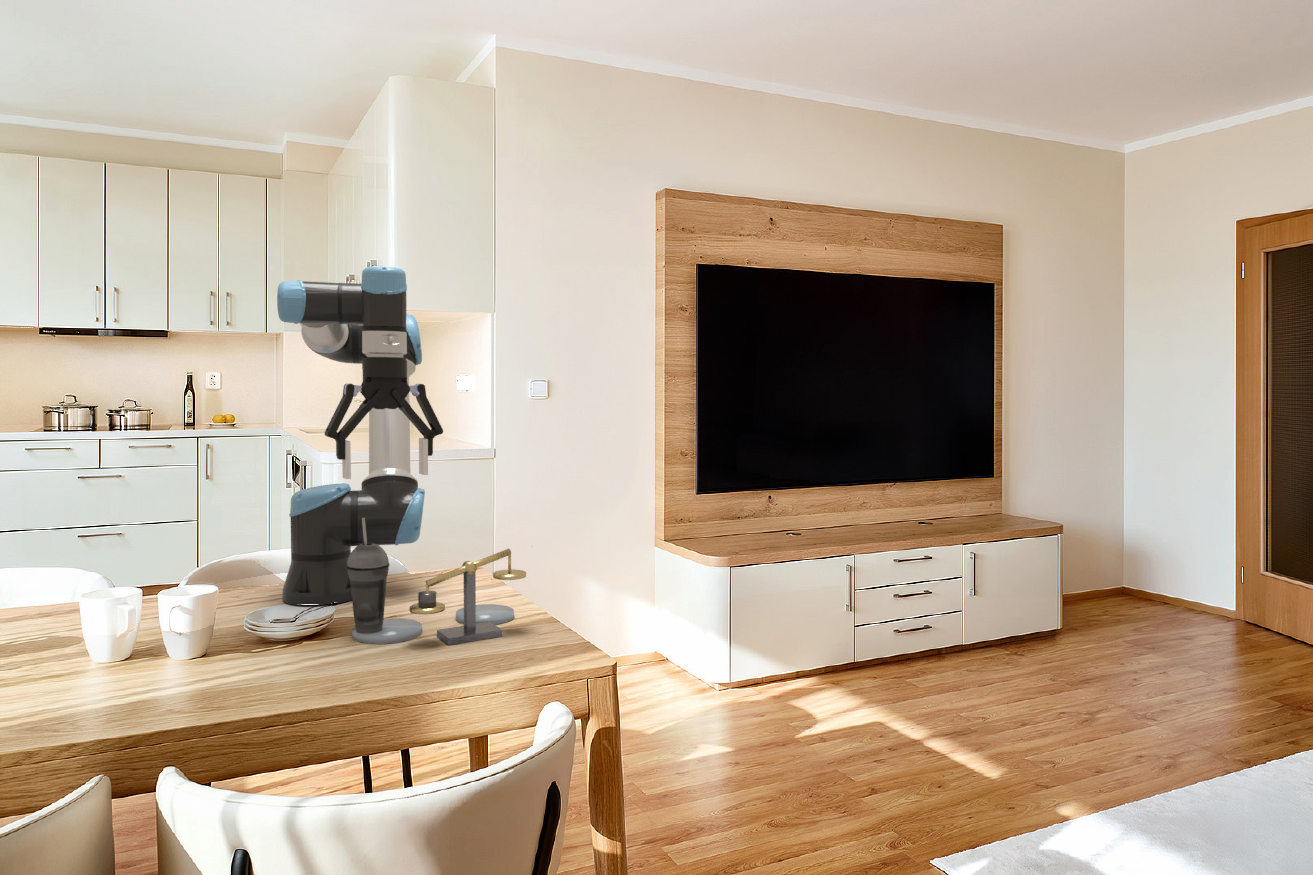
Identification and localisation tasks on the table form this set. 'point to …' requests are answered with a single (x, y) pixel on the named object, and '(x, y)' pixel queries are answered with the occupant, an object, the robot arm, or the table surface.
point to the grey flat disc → (391, 632)
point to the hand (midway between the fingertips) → (386, 476)
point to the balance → (465, 601)
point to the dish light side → (489, 614)
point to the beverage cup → (368, 584)
